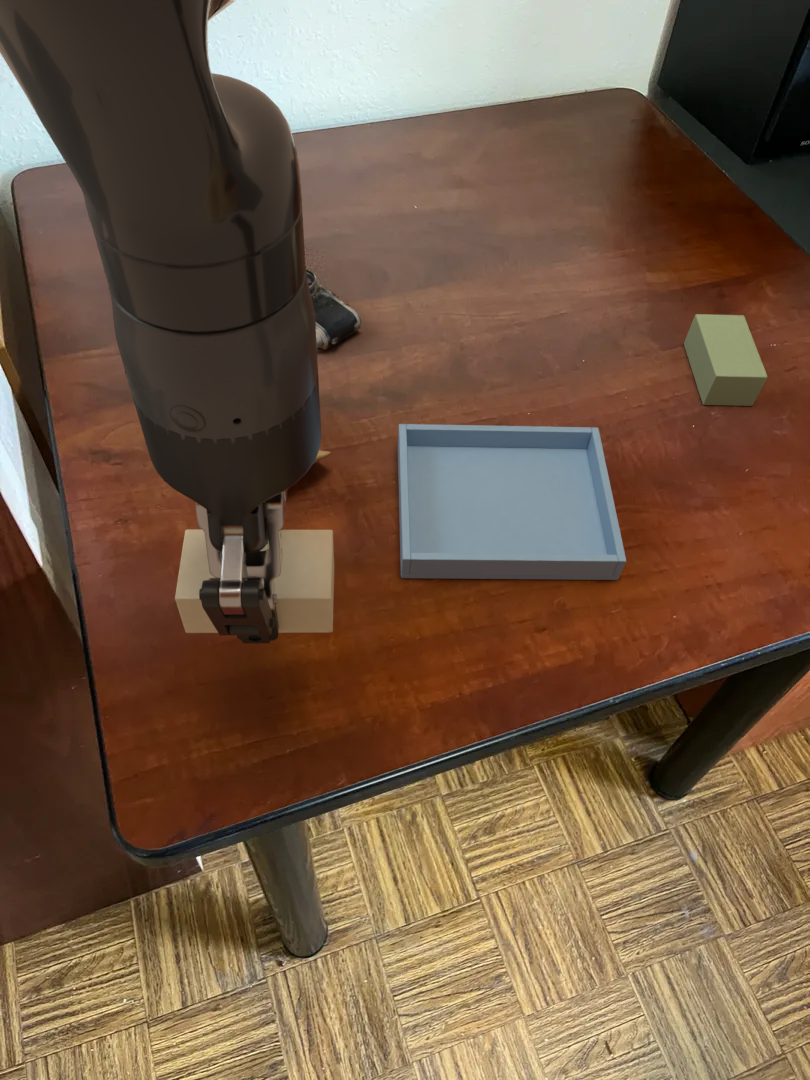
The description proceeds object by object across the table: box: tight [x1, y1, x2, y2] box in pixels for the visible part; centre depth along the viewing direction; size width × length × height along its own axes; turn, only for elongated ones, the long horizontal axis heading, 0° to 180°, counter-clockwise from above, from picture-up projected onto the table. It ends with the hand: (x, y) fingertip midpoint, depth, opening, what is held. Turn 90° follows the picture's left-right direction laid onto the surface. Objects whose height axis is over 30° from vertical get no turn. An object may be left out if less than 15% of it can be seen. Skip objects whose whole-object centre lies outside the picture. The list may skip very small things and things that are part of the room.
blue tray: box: [397, 423, 627, 581], centre depth 67 cm, size 16×13×2 cm
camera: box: [306, 269, 362, 350], centre depth 78 cm, size 5×10×4 cm, turn 45°
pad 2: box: [683, 313, 768, 407], centre depth 77 cm, size 4×8×4 cm, turn 1°
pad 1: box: [174, 528, 335, 634], centre depth 47 cm, size 4×8×4 cm, turn 92°
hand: (261, 594), depth 48 cm, fingers closed on pad 1, 4 cm apart
